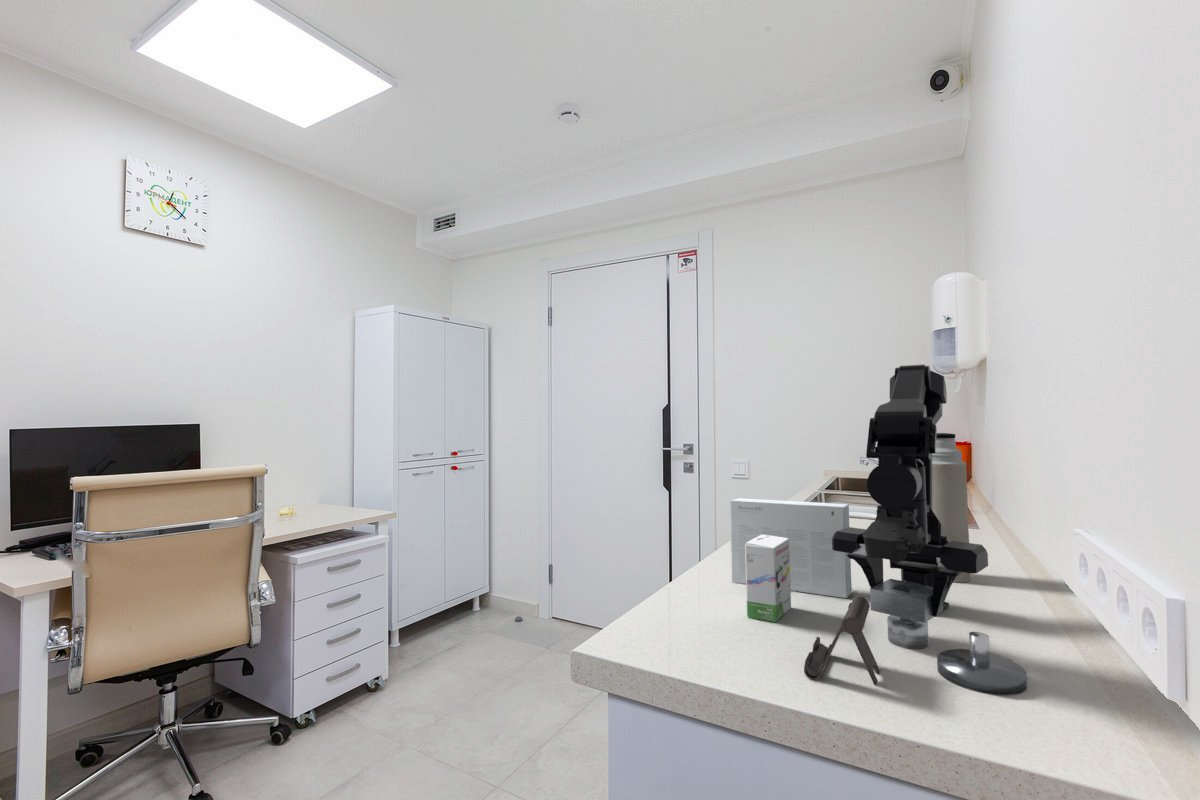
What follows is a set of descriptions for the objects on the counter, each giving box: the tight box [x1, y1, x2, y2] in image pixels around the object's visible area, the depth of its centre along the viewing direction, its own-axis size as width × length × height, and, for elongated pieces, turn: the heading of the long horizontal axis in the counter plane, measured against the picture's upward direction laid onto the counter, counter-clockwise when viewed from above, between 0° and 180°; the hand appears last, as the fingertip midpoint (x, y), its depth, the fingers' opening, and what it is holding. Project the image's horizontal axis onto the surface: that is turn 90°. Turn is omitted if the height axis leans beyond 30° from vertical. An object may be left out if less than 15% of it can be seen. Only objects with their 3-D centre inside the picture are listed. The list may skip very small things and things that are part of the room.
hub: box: [936, 631, 1028, 696], centre depth 69 cm, size 9×9×5 cm
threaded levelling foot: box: [886, 614, 929, 650], centre depth 79 cm, size 5×5×6 cm
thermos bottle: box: [932, 432, 972, 583], centre depth 111 cm, size 8×8×28 cm
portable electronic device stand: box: [803, 596, 881, 686], centre depth 71 cm, size 9×8×8 cm
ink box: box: [745, 535, 792, 623], centre depth 92 cm, size 8×5×12 cm, turn 145°
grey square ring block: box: [869, 578, 944, 623], centre depth 79 cm, size 7×7×3 cm
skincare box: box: [729, 497, 853, 599], centre depth 106 cm, size 21×6×16 cm, turn 58°
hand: (906, 609), depth 79 cm, fingers closed on grey square ring block, 7 cm apart
